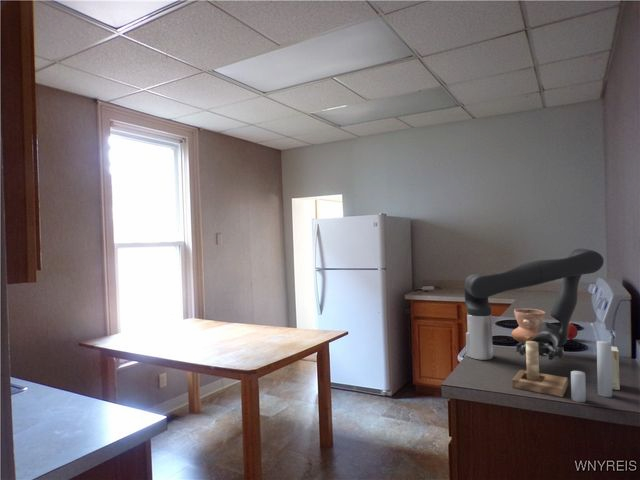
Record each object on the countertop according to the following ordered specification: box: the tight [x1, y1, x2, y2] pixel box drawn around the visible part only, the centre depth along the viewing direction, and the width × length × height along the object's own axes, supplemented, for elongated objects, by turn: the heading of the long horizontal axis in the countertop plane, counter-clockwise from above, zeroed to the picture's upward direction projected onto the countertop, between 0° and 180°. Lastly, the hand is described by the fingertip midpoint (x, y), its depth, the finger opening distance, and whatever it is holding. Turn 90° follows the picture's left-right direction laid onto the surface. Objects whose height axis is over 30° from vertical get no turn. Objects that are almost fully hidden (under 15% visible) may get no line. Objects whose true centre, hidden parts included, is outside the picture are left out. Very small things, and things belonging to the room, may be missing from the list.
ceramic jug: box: [511, 308, 546, 344], centre depth 180 cm, size 18×14×14 cm
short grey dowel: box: [570, 370, 587, 403], centre depth 119 cm, size 4×4×8 cm
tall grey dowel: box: [596, 340, 613, 398], centre depth 122 cm, size 4×4×16 cm
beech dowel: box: [525, 341, 540, 382], centre depth 131 cm, size 4×4×14 cm
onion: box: [567, 322, 579, 341], centre depth 180 cm, size 6×6×8 cm
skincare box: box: [611, 345, 621, 391], centre depth 128 cm, size 6×4×12 cm
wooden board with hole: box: [512, 369, 569, 398], centre depth 130 cm, size 14×11×2 cm
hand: (535, 354), depth 136 cm, fingers open, 8 cm apart
